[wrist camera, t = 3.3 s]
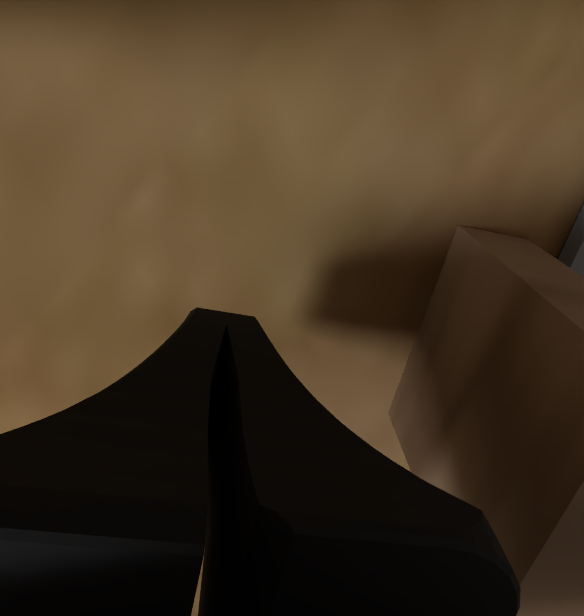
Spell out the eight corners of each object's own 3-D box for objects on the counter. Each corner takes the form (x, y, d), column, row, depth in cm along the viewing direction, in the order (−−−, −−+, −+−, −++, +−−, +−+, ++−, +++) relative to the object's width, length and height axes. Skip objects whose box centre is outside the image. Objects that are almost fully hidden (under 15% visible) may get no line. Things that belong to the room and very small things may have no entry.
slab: (449, 421, 16) (576, 655, 10) (388, 412, 16) (480, 650, 10) (528, 239, 14) (765, 401, 7) (457, 225, 13) (643, 381, 7)
